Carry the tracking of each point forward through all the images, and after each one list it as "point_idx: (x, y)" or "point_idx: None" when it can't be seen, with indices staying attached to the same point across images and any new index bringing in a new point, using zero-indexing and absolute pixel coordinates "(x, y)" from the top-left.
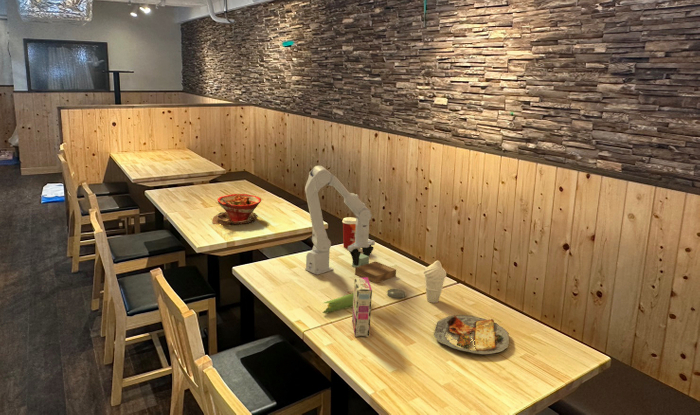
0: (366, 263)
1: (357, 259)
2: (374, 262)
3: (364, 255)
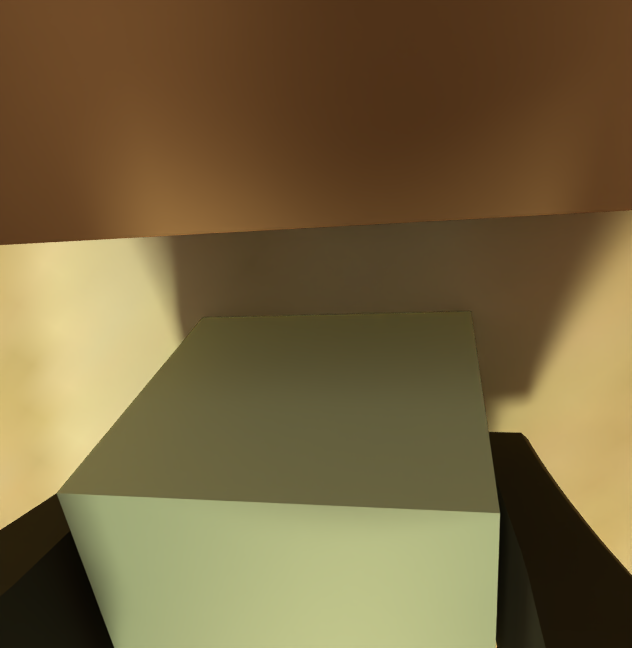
0: (241, 369)
1: (601, 563)
2: (55, 185)
3: (155, 620)
